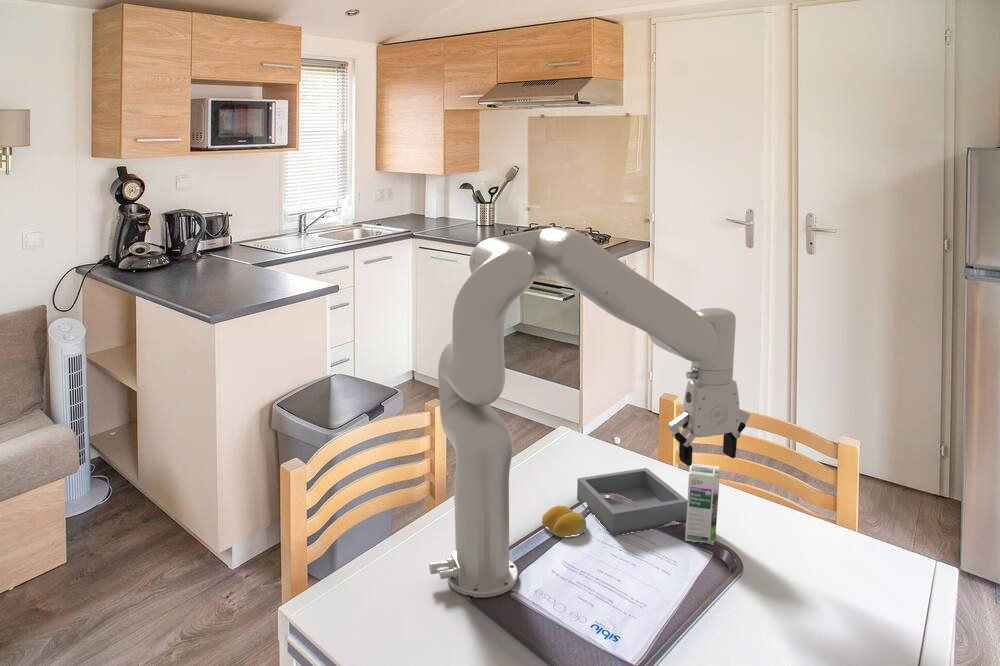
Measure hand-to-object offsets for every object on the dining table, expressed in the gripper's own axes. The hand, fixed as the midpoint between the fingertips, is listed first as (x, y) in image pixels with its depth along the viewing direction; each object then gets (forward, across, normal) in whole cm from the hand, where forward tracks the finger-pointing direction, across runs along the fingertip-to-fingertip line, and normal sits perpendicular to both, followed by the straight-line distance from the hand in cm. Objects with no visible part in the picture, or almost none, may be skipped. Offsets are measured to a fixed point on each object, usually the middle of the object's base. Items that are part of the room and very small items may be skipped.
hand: (707, 459), depth 137 cm
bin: (+16, -9, +14) cm, 23 cm away
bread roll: (+16, -25, +12) cm, 32 cm away
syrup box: (+17, -1, 0) cm, 17 cm away
